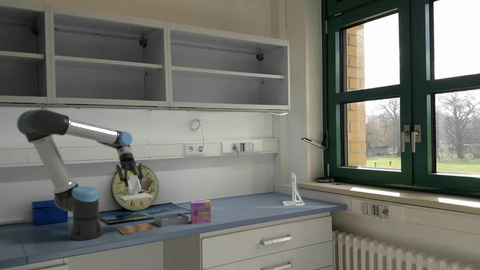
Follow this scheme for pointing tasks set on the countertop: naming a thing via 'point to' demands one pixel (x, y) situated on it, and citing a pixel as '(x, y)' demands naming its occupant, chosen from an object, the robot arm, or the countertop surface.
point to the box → (200, 212)
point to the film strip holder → (293, 194)
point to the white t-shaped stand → (134, 190)
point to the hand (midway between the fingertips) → (135, 190)
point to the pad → (135, 228)
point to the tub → (171, 219)
